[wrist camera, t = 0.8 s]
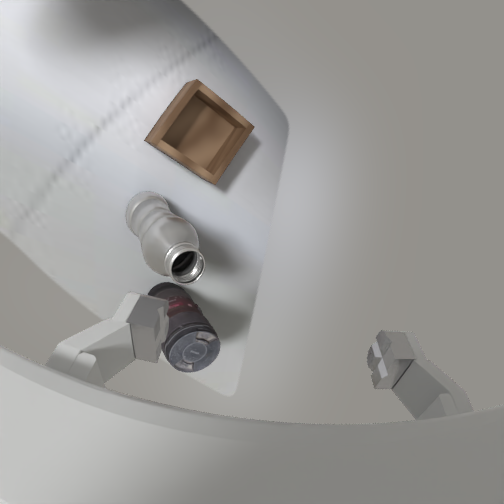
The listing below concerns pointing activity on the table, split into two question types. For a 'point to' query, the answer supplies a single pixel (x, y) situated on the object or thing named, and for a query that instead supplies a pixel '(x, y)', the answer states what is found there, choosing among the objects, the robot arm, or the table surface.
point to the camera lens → (186, 331)
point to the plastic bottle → (165, 238)
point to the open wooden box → (200, 131)
